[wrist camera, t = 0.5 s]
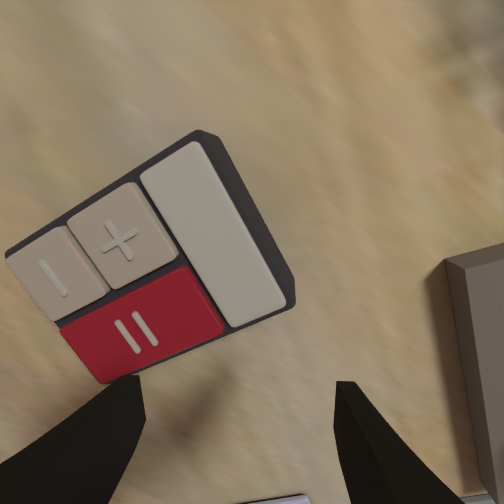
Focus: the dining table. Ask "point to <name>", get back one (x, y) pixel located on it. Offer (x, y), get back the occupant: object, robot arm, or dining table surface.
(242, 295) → the black and red box
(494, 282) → the grey slotted plate
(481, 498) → the mat
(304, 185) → the dining table surface
